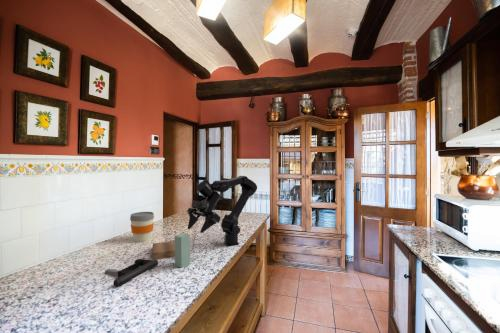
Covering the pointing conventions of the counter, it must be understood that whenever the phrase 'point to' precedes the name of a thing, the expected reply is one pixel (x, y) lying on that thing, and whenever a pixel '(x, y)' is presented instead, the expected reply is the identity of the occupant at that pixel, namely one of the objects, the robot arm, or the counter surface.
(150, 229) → the reusable coffee cup
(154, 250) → the walnut base
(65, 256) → the counter surface
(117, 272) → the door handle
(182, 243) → the green post
